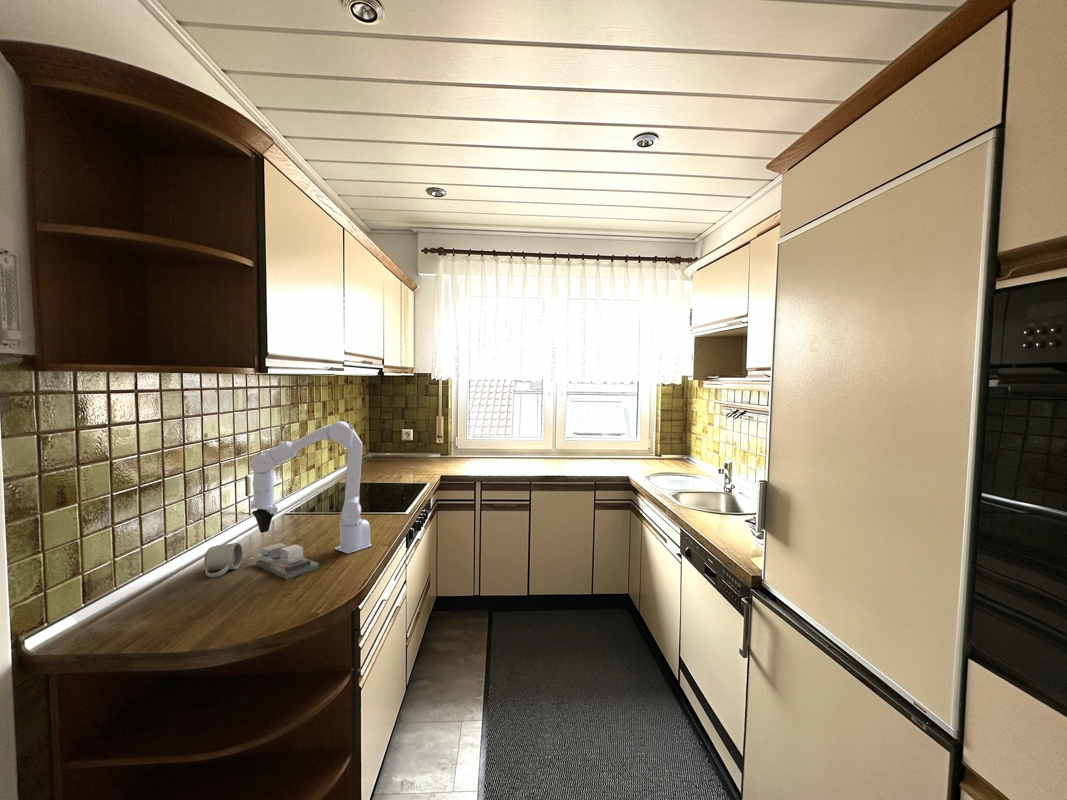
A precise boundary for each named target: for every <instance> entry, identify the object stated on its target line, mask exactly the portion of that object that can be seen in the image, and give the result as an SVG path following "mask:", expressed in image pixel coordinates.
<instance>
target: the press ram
mask: <svg viewBox="0 0 1067 800" xmlns="http://www.w3.org/2000/svg"><path fill="white" fill-rule="evenodd" d="M284 547H288V544H284V543H282V542H278V543H274V544H271V545H268V546H264V547H261V549H260V551H261V552H260V554H262V555H264V556H266V557H269V558H271V559H273V558H276V557H280V556H281V548H284Z"/></svg>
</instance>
